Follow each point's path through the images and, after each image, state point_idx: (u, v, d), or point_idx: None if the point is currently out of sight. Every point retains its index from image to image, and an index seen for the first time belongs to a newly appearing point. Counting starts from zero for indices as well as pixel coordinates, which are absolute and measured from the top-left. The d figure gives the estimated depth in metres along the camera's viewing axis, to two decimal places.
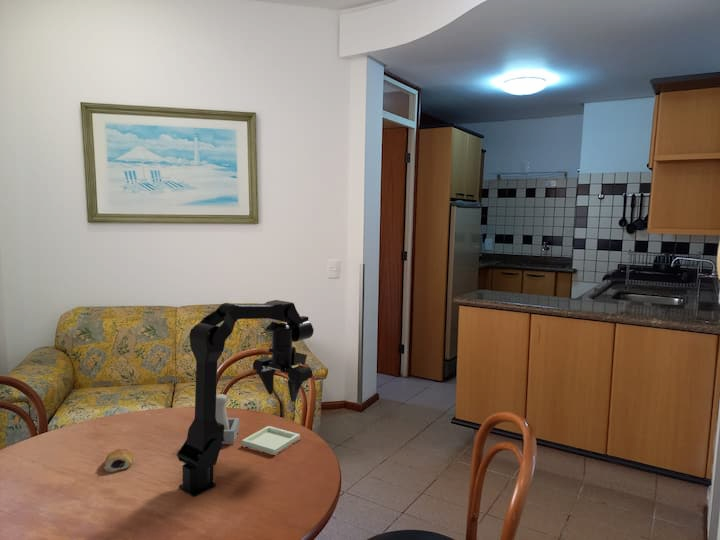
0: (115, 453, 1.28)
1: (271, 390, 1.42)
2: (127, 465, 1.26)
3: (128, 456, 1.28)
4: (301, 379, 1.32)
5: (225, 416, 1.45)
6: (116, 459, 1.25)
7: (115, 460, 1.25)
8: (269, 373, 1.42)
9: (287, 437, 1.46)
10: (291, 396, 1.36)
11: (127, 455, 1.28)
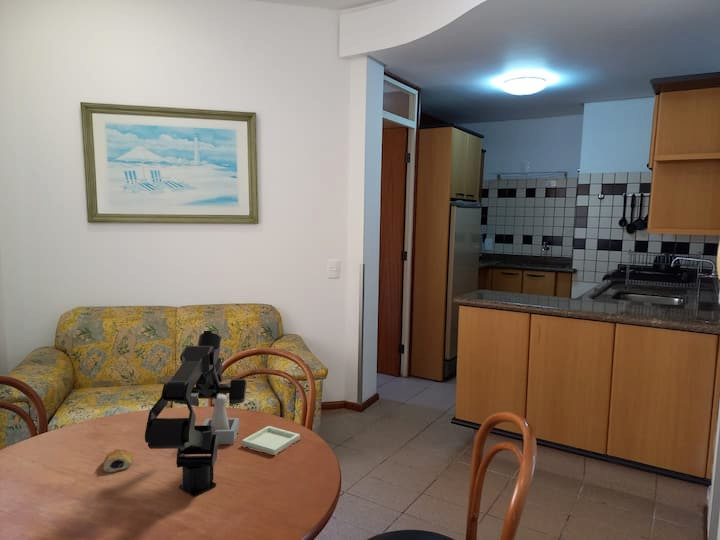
0: (114, 453, 1.28)
1: (198, 402, 1.36)
2: (126, 465, 1.26)
3: (127, 456, 1.28)
4: (244, 397, 1.31)
5: (225, 416, 1.45)
6: (115, 459, 1.25)
7: (114, 461, 1.25)
8: None
9: (287, 437, 1.46)
10: (231, 405, 1.35)
11: (126, 455, 1.28)
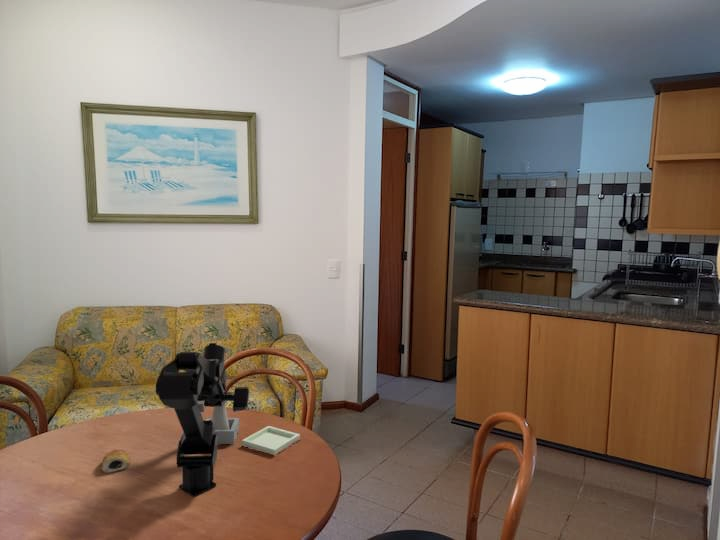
0: (112, 454, 1.27)
1: (203, 408, 1.44)
2: (125, 466, 1.26)
3: (125, 457, 1.28)
4: None
5: (225, 416, 1.45)
6: (113, 459, 1.25)
7: (113, 461, 1.25)
8: None
9: (287, 437, 1.46)
10: (235, 411, 1.43)
11: (124, 456, 1.28)
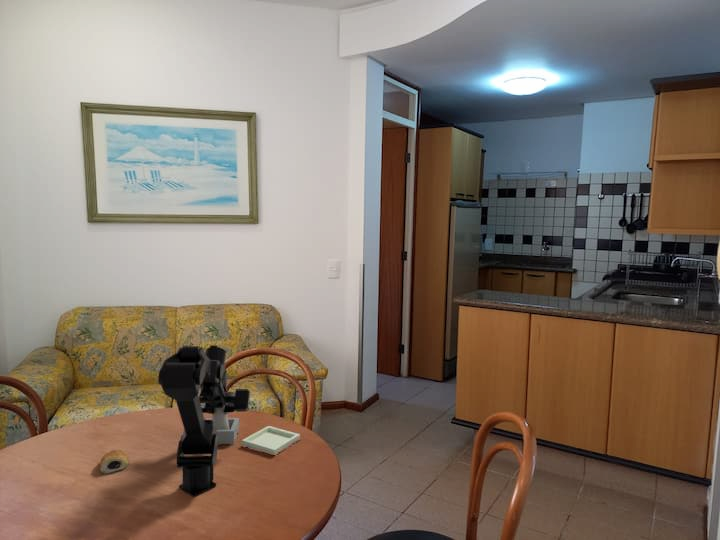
0: (111, 454, 1.27)
1: (213, 410, 1.45)
2: (123, 466, 1.26)
3: (124, 457, 1.27)
4: (248, 406, 1.40)
5: (225, 416, 1.45)
6: (112, 460, 1.25)
7: (111, 461, 1.25)
8: None
9: (287, 437, 1.46)
10: (226, 413, 1.44)
11: (123, 456, 1.28)
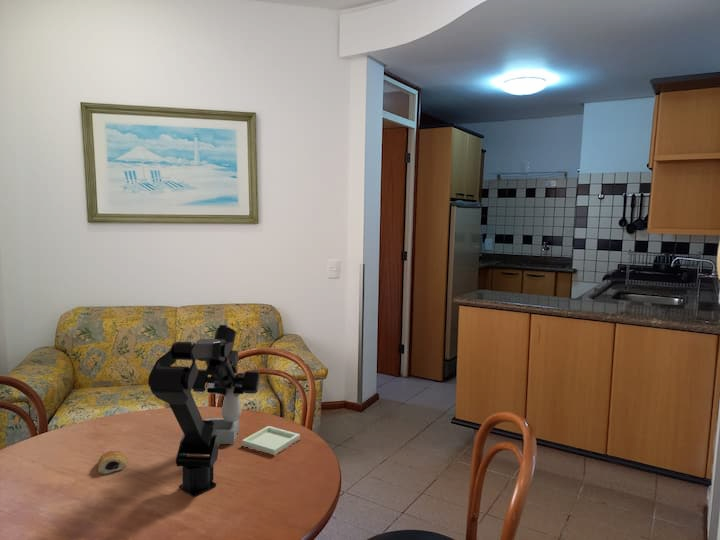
0: (108, 455, 1.27)
1: None
2: (121, 466, 1.26)
3: (122, 457, 1.27)
4: (257, 388, 1.38)
5: (237, 398, 1.45)
6: (110, 460, 1.24)
7: (109, 462, 1.24)
8: None
9: (287, 437, 1.46)
10: (237, 395, 1.44)
11: (121, 456, 1.27)
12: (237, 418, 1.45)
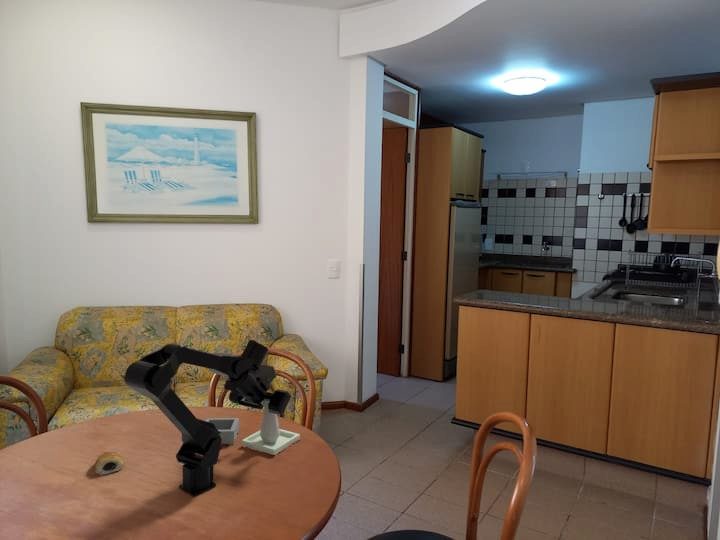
0: (105, 456, 1.26)
1: (261, 406, 1.44)
2: (119, 467, 1.25)
3: (119, 458, 1.27)
4: (283, 410, 1.32)
5: (273, 420, 1.41)
6: (108, 461, 1.24)
7: (107, 463, 1.24)
8: None
9: (287, 437, 1.46)
10: None
11: (118, 457, 1.27)
12: (273, 441, 1.41)
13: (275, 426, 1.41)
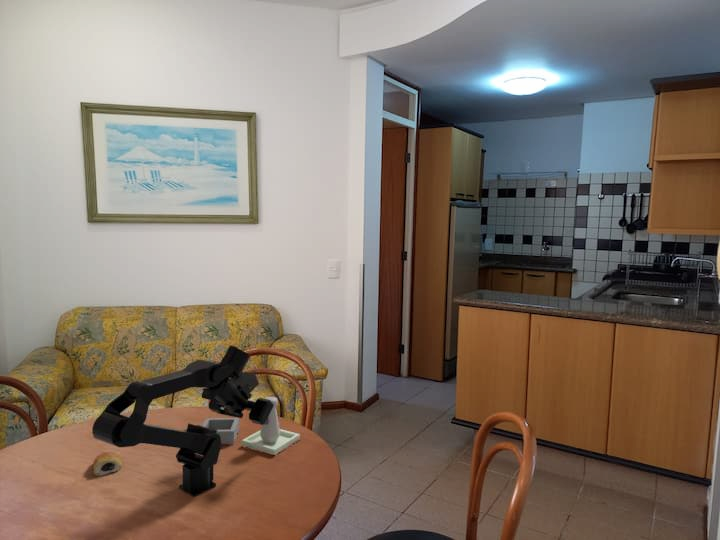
0: (103, 456, 1.26)
1: (241, 414, 1.37)
2: (117, 467, 1.25)
3: (117, 458, 1.27)
4: (265, 420, 1.25)
5: (273, 420, 1.41)
6: (106, 462, 1.24)
7: (105, 463, 1.24)
8: None
9: (287, 437, 1.46)
10: (263, 424, 1.32)
11: (116, 458, 1.27)
12: (273, 441, 1.41)
13: (275, 426, 1.41)
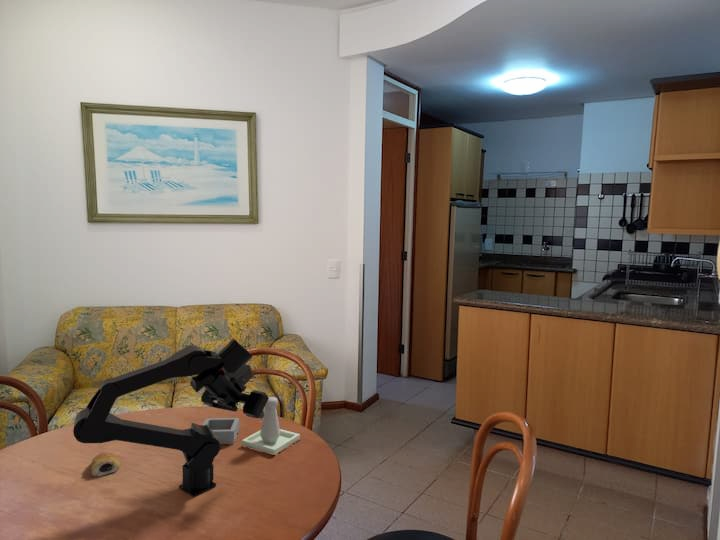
0: (101, 457, 1.25)
1: (235, 407, 1.32)
2: (116, 468, 1.25)
3: (115, 459, 1.26)
4: (260, 413, 1.20)
5: (273, 420, 1.41)
6: (104, 462, 1.23)
7: (103, 464, 1.23)
8: None
9: (287, 437, 1.46)
10: None
11: (114, 458, 1.26)
12: (273, 441, 1.41)
13: (275, 426, 1.41)
